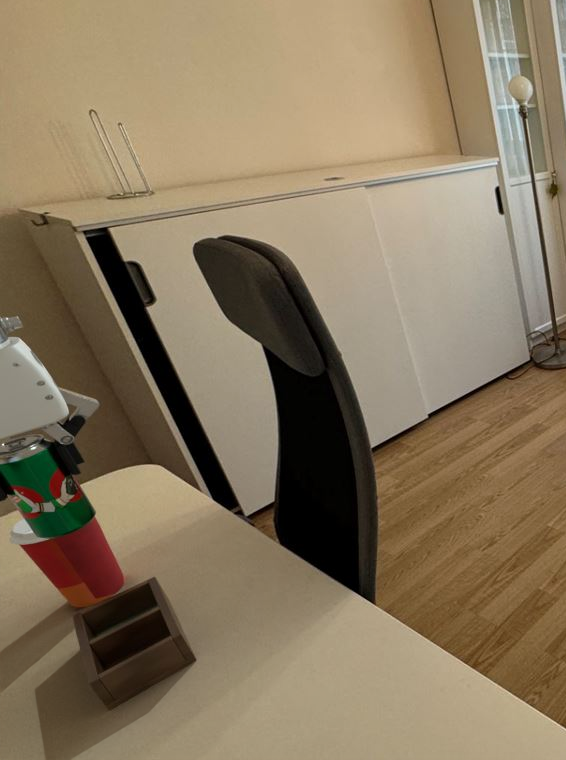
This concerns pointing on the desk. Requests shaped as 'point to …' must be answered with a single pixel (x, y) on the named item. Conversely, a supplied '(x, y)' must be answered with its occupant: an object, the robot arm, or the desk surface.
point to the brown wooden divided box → (131, 642)
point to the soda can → (43, 487)
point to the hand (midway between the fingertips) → (39, 481)
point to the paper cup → (74, 562)
